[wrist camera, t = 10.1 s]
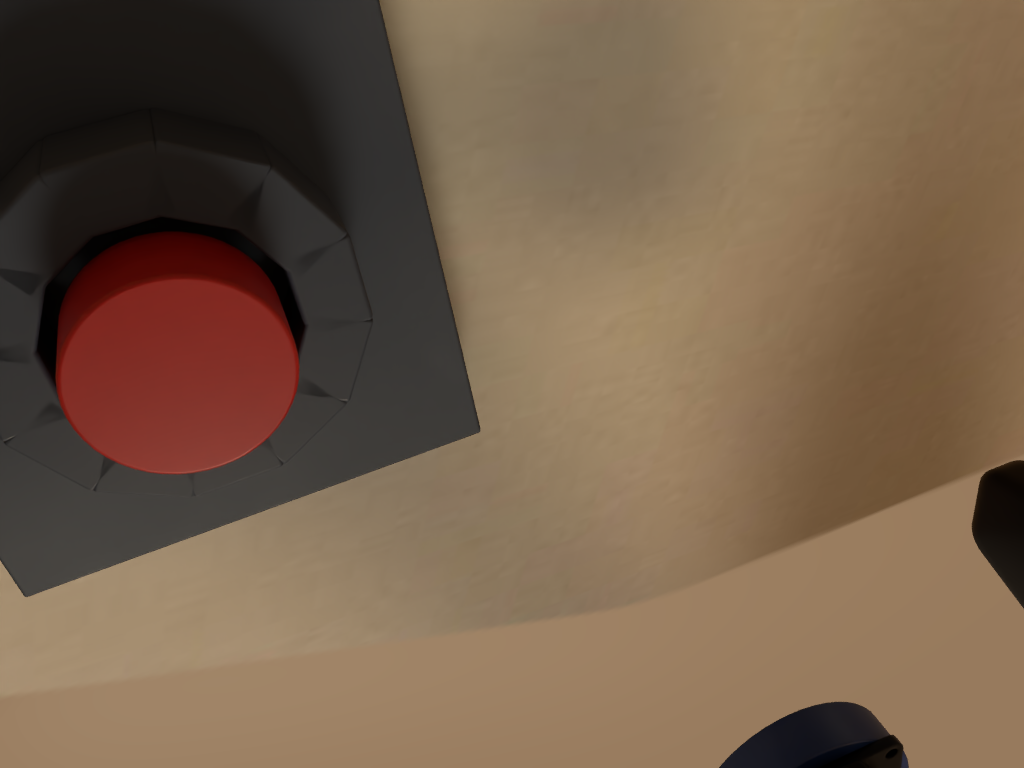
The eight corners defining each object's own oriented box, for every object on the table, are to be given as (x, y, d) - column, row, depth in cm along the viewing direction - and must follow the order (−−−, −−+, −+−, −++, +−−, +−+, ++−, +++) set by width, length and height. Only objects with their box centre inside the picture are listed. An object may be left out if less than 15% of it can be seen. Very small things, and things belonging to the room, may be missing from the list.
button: (307, 379, 18) (326, 431, 17) (110, 447, 17) (113, 506, 16) (244, 201, 16) (259, 243, 15) (17, 269, 15) (11, 320, 14)
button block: (458, 393, 23) (509, 479, 20) (28, 546, 21) (20, 663, 19) (334, -114, 17) (382, -90, 14) (-296, 38, 15) (-383, 101, 12)
